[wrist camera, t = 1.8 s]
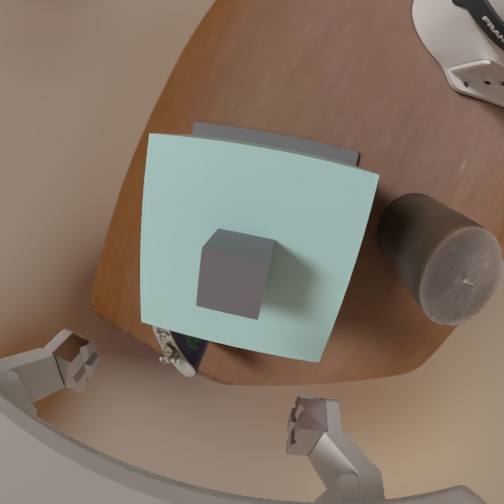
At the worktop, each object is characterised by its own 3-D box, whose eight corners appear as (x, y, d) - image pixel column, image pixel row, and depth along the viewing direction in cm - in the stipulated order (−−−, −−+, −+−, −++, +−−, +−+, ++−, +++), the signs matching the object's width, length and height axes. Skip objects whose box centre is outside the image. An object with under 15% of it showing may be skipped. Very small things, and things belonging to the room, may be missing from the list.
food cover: (343, 161, 31) (399, 182, 14) (311, 288, 37) (320, 396, 20) (204, 135, 32) (119, 133, 15) (189, 262, 38) (121, 348, 21)
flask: (216, 335, 42) (195, 386, 32) (199, 339, 43) (176, 389, 33) (188, 282, 39) (156, 326, 29) (170, 287, 40) (136, 330, 30)
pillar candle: (368, 206, 32) (416, 254, 19) (436, 183, 30) (510, 215, 16) (386, 276, 35) (427, 350, 21) (448, 252, 33) (508, 311, 19)
